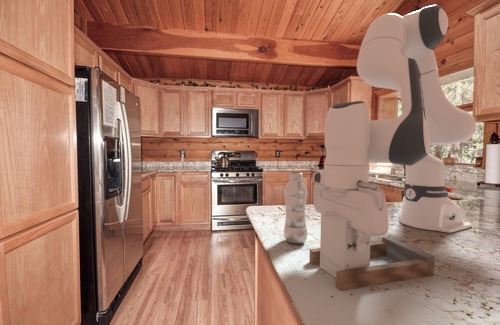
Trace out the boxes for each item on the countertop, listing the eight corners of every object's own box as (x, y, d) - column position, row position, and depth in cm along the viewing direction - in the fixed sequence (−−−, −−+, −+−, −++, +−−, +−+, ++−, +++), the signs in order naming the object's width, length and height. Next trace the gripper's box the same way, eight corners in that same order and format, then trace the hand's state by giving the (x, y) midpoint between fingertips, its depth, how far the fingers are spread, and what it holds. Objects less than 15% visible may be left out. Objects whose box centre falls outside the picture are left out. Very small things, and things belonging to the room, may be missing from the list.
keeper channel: (388, 251, 62) (388, 236, 62) (434, 275, 51) (434, 256, 50) (309, 261, 57) (309, 245, 56) (340, 290, 45) (341, 269, 45)
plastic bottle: (302, 248, 64) (303, 174, 63) (279, 243, 68) (280, 172, 67) (310, 240, 70) (311, 172, 69) (288, 236, 73) (289, 171, 72)
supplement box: (343, 284, 47) (345, 220, 46) (318, 267, 54) (319, 211, 53) (370, 276, 50) (372, 216, 49) (343, 261, 57) (345, 208, 56)
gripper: (399, 184, 42) (396, 262, 42) (331, 173, 61) (330, 226, 62) (368, 185, 40) (366, 266, 41) (309, 174, 60) (308, 228, 61)
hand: (344, 242), depth 52 cm, fingers open, 8 cm apart
